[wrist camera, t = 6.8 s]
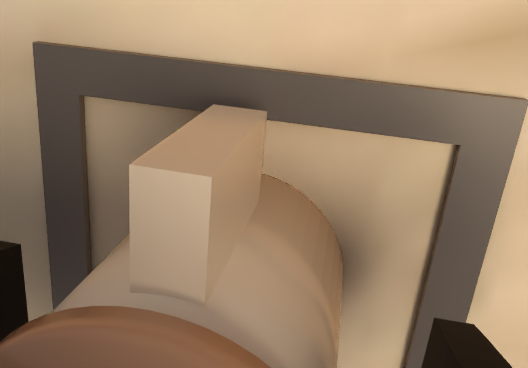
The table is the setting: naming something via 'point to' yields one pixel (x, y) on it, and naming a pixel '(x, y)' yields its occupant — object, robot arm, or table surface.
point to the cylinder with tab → (202, 267)
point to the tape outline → (292, 111)
